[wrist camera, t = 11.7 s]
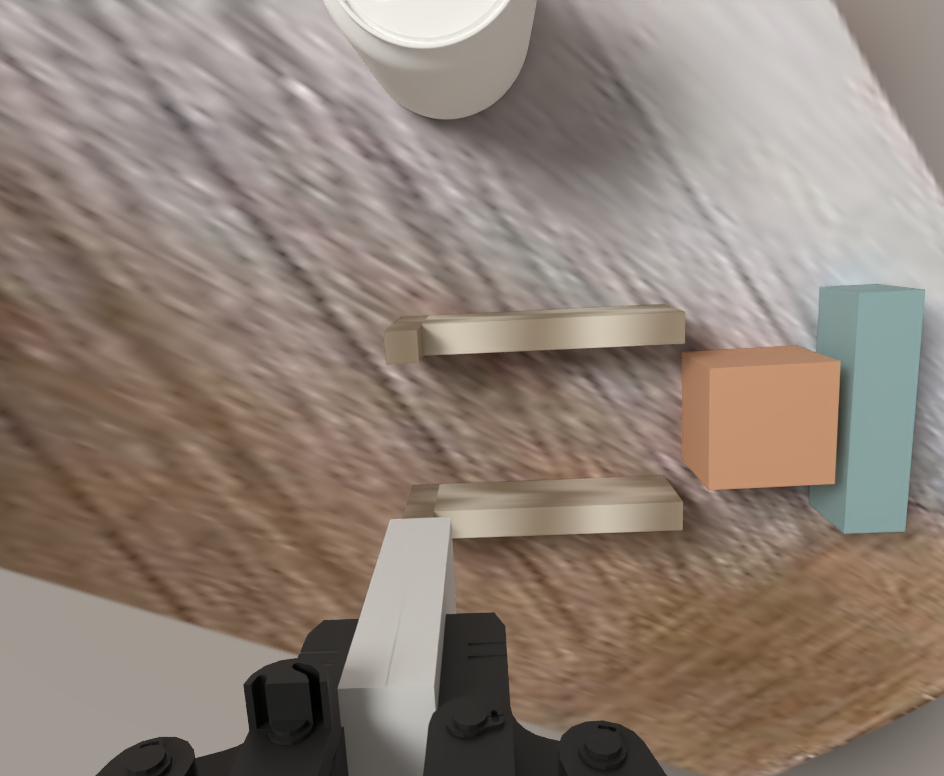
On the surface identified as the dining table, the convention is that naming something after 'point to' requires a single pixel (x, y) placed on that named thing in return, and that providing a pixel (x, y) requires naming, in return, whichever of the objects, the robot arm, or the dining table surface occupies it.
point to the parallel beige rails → (542, 500)
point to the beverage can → (439, 49)
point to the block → (760, 416)
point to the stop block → (871, 403)
